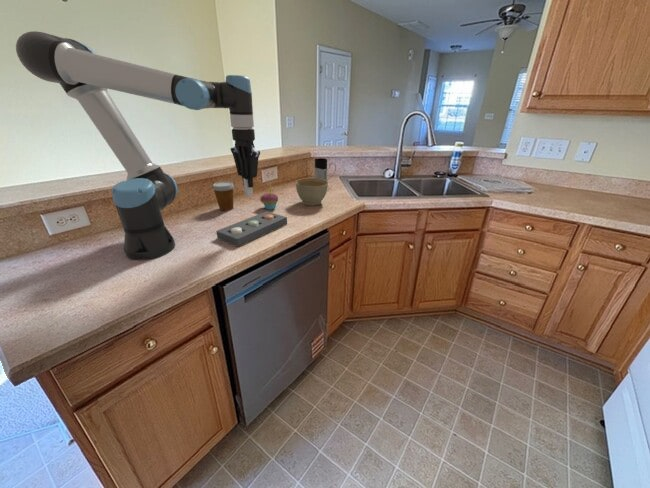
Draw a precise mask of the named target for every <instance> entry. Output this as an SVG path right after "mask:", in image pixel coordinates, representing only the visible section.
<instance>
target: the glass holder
mask: <svg viewBox="0 0 650 488" xmlns="http://www.w3.org/2000/svg"><path fill="white" fill-rule="evenodd" d="M331 164H333V165H334V167H335V168H334V173H333V174H332V175H331V176H330V177H329V178H328V170H330V168H331ZM336 171H337V165H336V163H335V162H330V163H329V165H328V159H327V158H320V157H319V158H318V157H317V158H315V159H314V178H318V179H323V180H326V181H328V180H329V179H331V178H332V177H333V176H334V175H335V173H336Z"/></svg>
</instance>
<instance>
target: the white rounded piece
mask: <svg viewBox="0 0 650 488" xmlns="http://www.w3.org/2000/svg"><path fill="white" fill-rule="evenodd" d="M241 232H242V228H240V227H235V228H232V229H231V233H232V234H235V235H236V234H239V233H241Z"/></svg>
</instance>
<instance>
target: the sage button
mask: <svg viewBox="0 0 650 488" xmlns="http://www.w3.org/2000/svg"><path fill="white" fill-rule="evenodd" d="M248 225H249V226H251V227H255V226H257V225H259V222H258V221H256V220H253V221H249V222H248Z"/></svg>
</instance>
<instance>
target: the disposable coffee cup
mask: <svg viewBox="0 0 650 488" xmlns="http://www.w3.org/2000/svg"><path fill="white" fill-rule="evenodd" d="M234 187H235V185H234V184H233V182H231V181H218V182H214V183H213V184H212V189H213V192H214V194H215V195H214V196H215V198H216V201H217V204H218V205H217V206H218V209H219V210H220V211H221V212H222V211H223V212H224V211H225V212H226V211H231V210H233V209H234Z"/></svg>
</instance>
